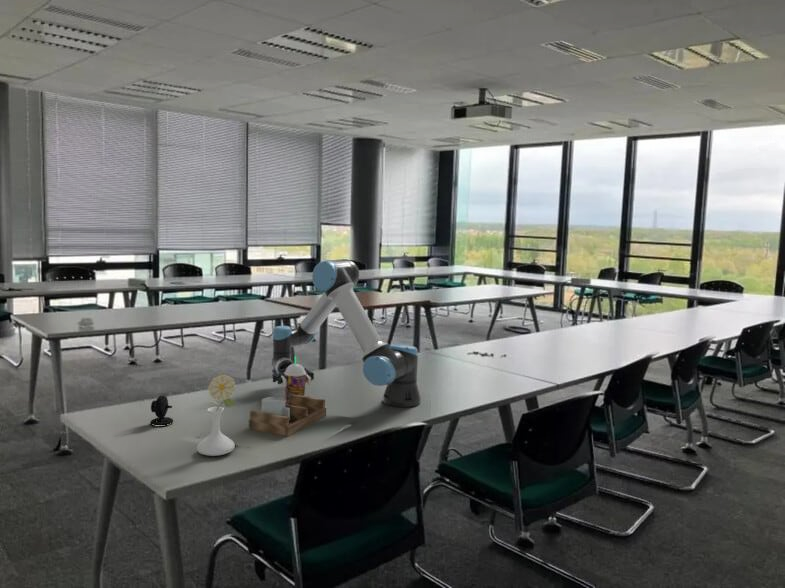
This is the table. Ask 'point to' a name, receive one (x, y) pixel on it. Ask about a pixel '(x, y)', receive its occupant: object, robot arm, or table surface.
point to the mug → (275, 406)
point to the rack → (300, 416)
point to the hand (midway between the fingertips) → (297, 382)
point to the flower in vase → (218, 418)
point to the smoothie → (295, 380)
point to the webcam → (161, 411)
